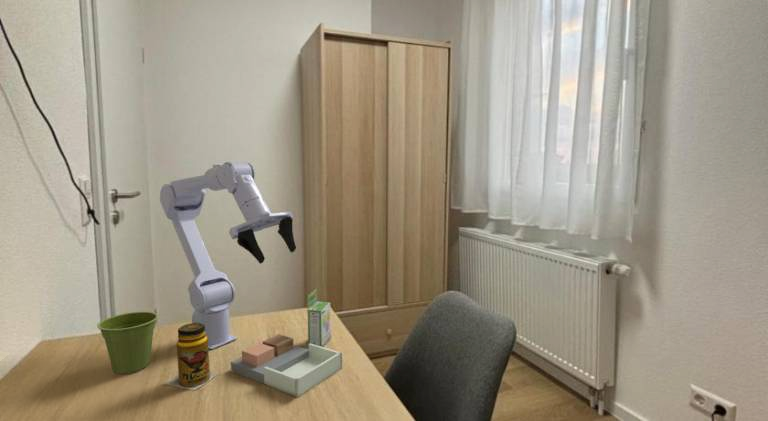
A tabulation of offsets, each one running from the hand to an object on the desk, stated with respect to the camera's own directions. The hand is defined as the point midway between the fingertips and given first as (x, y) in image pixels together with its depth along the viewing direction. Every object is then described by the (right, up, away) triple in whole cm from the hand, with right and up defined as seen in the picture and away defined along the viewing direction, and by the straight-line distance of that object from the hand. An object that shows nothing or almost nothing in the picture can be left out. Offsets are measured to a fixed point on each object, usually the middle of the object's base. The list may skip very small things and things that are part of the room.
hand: (278, 255), depth 91 cm
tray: (+6, -26, 0) cm, 27 cm away
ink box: (+6, -25, +17) cm, 31 cm away
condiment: (-18, -27, -1) cm, 33 cm away
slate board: (-3, -26, +5) cm, 26 cm away
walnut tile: (-2, -23, +8) cm, 25 cm away
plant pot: (-35, -26, +4) cm, 44 cm away
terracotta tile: (-5, -24, +3) cm, 25 cm away
